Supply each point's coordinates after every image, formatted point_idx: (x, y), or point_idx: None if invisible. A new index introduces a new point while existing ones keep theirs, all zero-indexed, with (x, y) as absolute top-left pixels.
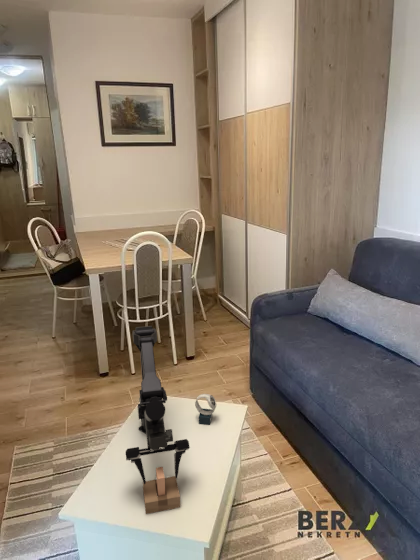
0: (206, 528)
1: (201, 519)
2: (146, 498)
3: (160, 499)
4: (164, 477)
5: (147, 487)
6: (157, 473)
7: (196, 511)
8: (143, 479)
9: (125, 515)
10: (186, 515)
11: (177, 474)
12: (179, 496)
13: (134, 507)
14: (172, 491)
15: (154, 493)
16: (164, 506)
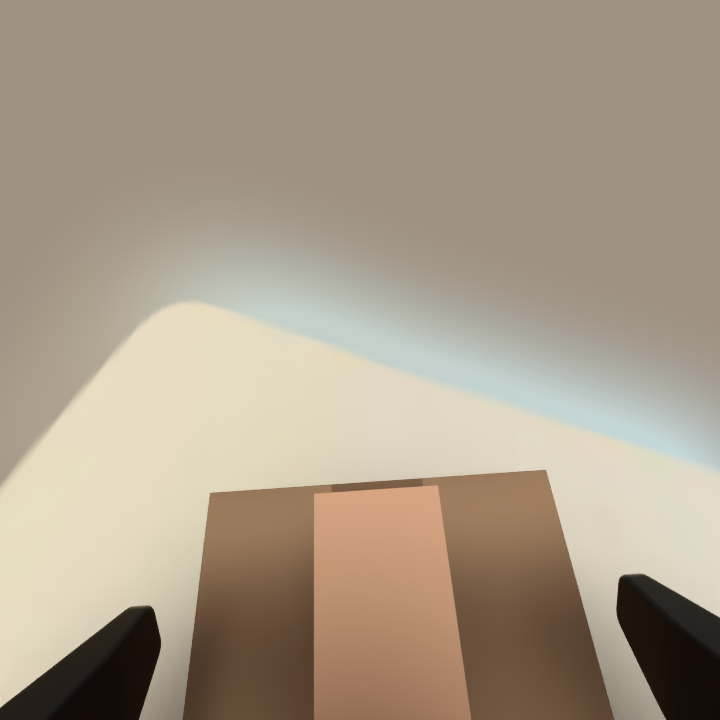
0: (140, 342)
1: (142, 399)
2: (541, 528)
3: (398, 487)
4: (316, 502)
5: (558, 704)
6: (445, 639)
7: (147, 463)
8: (696, 612)
9: (678, 519)
10: (223, 443)
11: (93, 638)
12: (215, 494)
13: None
14: (266, 574)
15: (461, 583)
16: None
